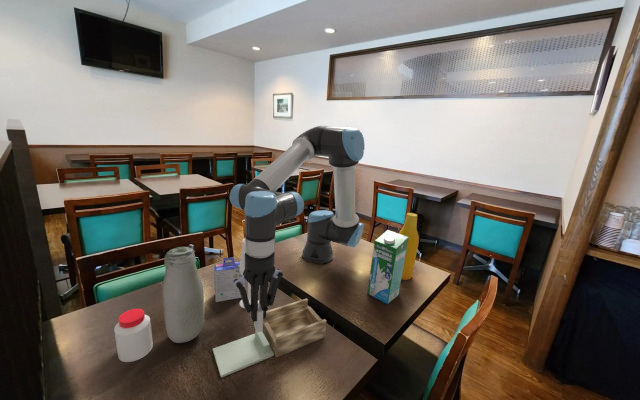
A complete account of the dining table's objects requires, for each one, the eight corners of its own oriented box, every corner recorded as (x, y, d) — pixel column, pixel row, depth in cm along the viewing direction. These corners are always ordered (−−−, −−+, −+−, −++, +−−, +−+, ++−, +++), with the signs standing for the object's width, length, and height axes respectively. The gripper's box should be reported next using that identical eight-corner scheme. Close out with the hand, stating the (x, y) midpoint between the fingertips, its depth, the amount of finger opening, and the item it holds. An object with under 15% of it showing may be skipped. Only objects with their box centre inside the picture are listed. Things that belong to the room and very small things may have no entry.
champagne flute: (251, 311, 90) (252, 246, 84) (235, 305, 92) (234, 241, 86) (262, 299, 96) (264, 238, 90) (246, 294, 98) (247, 234, 92)
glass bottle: (192, 319, 84) (187, 237, 76) (211, 335, 78) (208, 248, 71) (159, 338, 76) (150, 248, 69) (178, 357, 70) (170, 261, 63)
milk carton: (367, 293, 105) (375, 234, 98) (378, 284, 111) (387, 229, 105) (387, 304, 99) (397, 242, 92) (398, 294, 105) (409, 236, 99)
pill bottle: (114, 365, 66) (108, 329, 64) (122, 343, 73) (117, 309, 70) (150, 357, 70) (146, 322, 67) (154, 336, 76) (151, 303, 74)
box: (305, 313, 91) (306, 298, 89) (324, 337, 81) (326, 320, 79) (260, 329, 82) (260, 312, 81) (276, 357, 72) (276, 339, 71)
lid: (261, 334, 81) (261, 324, 80) (273, 357, 73) (274, 346, 72) (212, 352, 73) (212, 341, 72) (221, 379, 66) (220, 367, 65)
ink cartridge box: (242, 289, 101) (242, 254, 97) (244, 297, 96) (244, 261, 93) (214, 293, 97) (213, 257, 94) (215, 302, 92) (214, 265, 89)
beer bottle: (403, 268, 127) (414, 210, 119) (416, 279, 118) (428, 217, 111) (387, 270, 124) (396, 211, 116) (398, 281, 115) (409, 218, 108)
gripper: (277, 242, 74) (274, 313, 81) (230, 250, 68) (231, 327, 74) (289, 253, 68) (285, 329, 75) (238, 263, 61) (238, 346, 68)
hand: (258, 328), depth 74 cm, fingers closed
